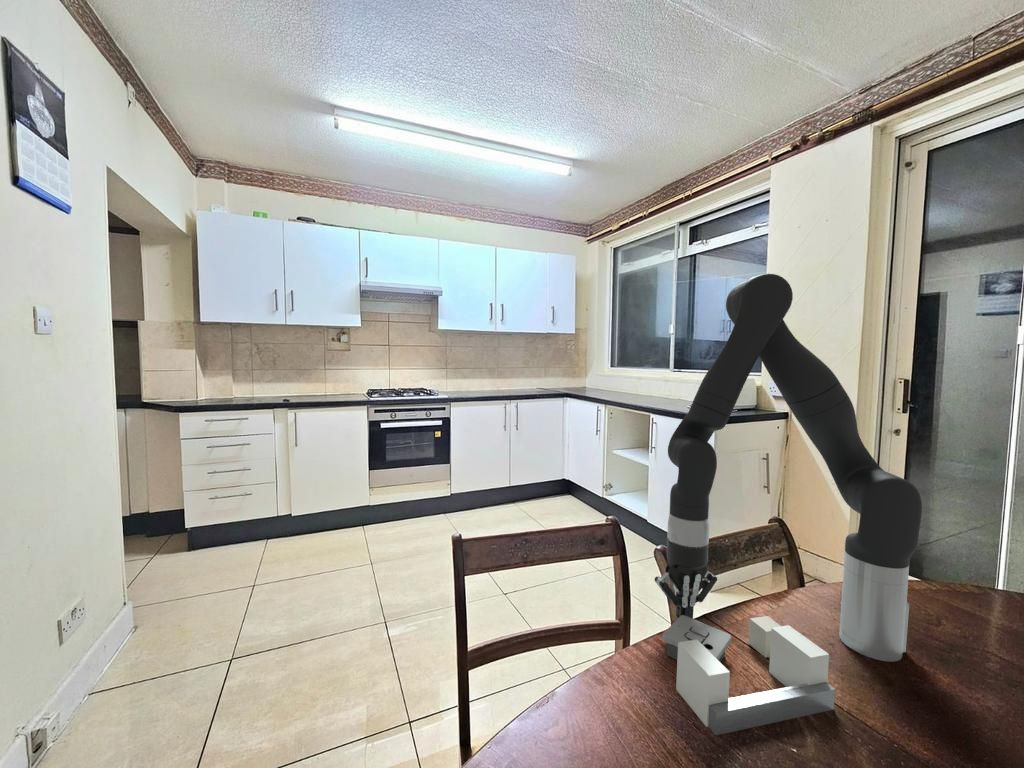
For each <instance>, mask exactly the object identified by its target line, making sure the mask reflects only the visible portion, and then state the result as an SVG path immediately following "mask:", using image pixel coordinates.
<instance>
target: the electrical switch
mask: <svg viewBox="0 0 1024 768" xmlns="http://www.w3.org/2000/svg"><path fill="white" fill-rule="evenodd" d="M661 639H662V641H663V642H664V643H666V645H665V646H666V653H665V654H666V656H668V657H671V658H672V659H674V660H676V661H677V657H678V642H684V641H690V640H696V639H697V640H698V641H699V642H700V643H701V644H702V645H703V646H704V647H705V648H706V649H707V650H708V651H709V652H710V653H711V654H712V655H713V656H714V657H715V658H716V659H717V660H718V661H719V662H720V663H721V662H722V660H723V659H724V658H725V656H726V649H728V647H729V646H730V644H731V643H732V636H731V634H730V633H728V632H726V631H723V630H720V629H719V628H716V627H714V626H712V625H710V624H709V625H708V624H706V623H703V622H701V621H699V620H697V619H695V618H693V619H692V618H690V617H688V616H685V615H681V616H680V617H679V618H676V620H675V621H674V622H673V623H672V624H671V625H670V626H669V627H668V628H667V629H666V630H665V631H664V632H663V633H662V637H661Z"/></svg>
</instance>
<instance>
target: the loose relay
mask: <svg viewBox="0 0 1024 768" xmlns="http://www.w3.org/2000/svg"><path fill="white" fill-rule="evenodd" d="M748 626H749V627H748V645H750V646H751V647H752V648H753V649H755V650H756V651H757V652H758V653H759V654H760V655H761V656H762V657H764V658H770V647H771V629H772V628H774V627H780V626H782V625H781V624H779V623H778V622H777V621H775V620H774V619H772V618H771V617H770V616H768V615H765V616H757V617H751V618H749V625H748Z"/></svg>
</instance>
